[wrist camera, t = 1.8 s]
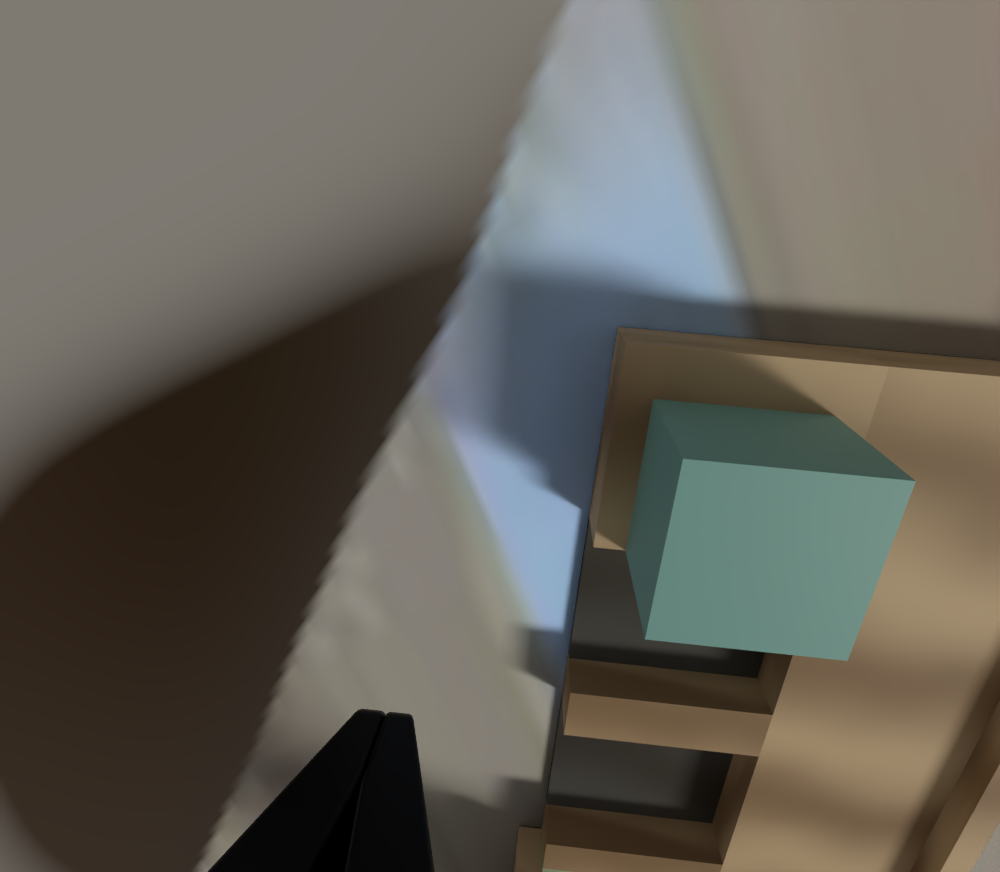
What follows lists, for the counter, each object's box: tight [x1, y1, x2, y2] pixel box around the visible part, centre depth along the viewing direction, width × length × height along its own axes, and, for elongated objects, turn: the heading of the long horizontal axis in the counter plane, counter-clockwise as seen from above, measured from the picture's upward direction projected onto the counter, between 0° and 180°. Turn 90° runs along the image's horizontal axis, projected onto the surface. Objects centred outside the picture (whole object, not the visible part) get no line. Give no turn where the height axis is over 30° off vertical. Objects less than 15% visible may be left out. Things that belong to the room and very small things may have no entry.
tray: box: [513, 327, 1000, 872], centre depth 22 cm, size 28×16×4 cm, turn 176°
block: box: [626, 399, 916, 661], centre depth 16 cm, size 5×5×4 cm
